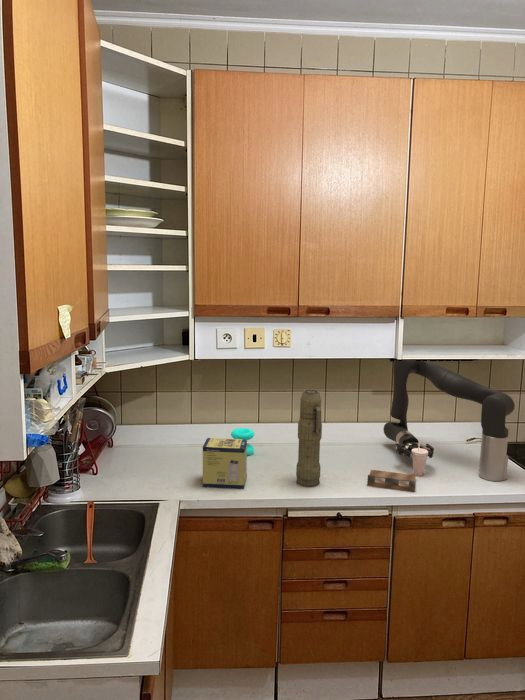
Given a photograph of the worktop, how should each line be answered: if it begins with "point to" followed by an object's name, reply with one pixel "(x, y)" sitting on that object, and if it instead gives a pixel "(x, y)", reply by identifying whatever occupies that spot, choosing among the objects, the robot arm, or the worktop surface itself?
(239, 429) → the donuts
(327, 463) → the worktop surface
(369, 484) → the shelf board
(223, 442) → the protein box
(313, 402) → the thermos
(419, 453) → the smoothie
